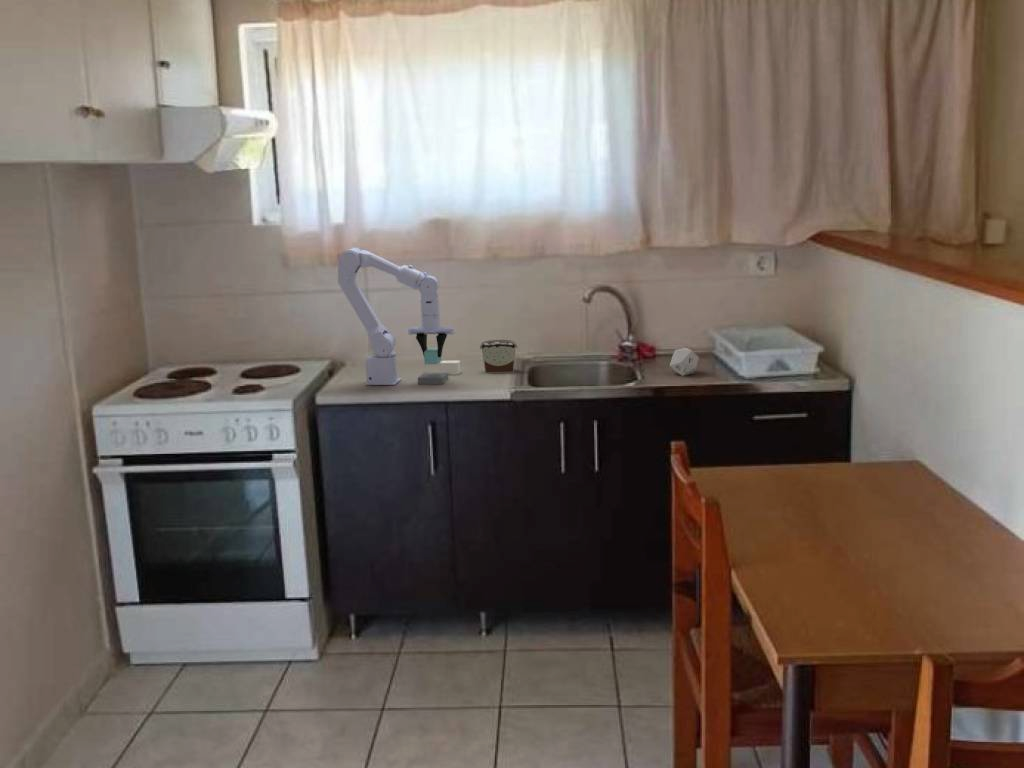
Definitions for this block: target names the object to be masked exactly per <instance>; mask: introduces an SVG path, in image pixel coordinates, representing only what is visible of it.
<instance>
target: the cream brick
mask: <svg viewBox="0 0 1024 768" xmlns="http://www.w3.org/2000/svg"><path fill="white" fill-rule="evenodd" d="M439 366H440V367H439V369H440V370H439V372H448V376H449V375H454V376H455V375H456V376H457V375H460V373H462V371H461V369H462V368H461V367H462V366H461V360H454V359H453V360H441V361H440V362H439Z"/></svg>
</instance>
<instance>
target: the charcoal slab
mask: <svg viewBox="0 0 1024 768" xmlns="http://www.w3.org/2000/svg"><path fill="white" fill-rule="evenodd" d="M447 379H449V375H448V372H440V371H439V372H436V371H435V372H431V371H430V372H426V371H425V372H423V373H421V374H420V375H419V376H418V377H417V385H444V384H445V383H446V382H447V381H446V380H447ZM445 381H446V382H445Z"/></svg>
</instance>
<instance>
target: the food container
mask: <svg viewBox="0 0 1024 768" xmlns="http://www.w3.org/2000/svg"><path fill="white" fill-rule="evenodd" d="M479 349H480V350H481V352H482V359H483V364H484V365H483V366H484V373H485V374H492V373H493V374H494V373H495V374H501V372H502V373H503V374H504V373H506V372H507V373H508V374H510V372H515V357H516V349H518V345H517V342H516V341H515V340H512V339H490V340H485V341H483V342H481V343H480V346H479Z"/></svg>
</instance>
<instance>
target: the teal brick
mask: <svg viewBox="0 0 1024 768" xmlns="http://www.w3.org/2000/svg"><path fill="white" fill-rule="evenodd" d="M423 359H424V365H438V364H440V363H441V362H442V356H441V357H438V347H429V348H428V347H427V350H426V351H425V352H424V355H423Z"/></svg>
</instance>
